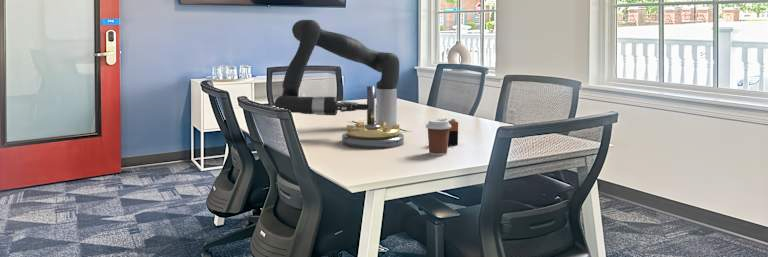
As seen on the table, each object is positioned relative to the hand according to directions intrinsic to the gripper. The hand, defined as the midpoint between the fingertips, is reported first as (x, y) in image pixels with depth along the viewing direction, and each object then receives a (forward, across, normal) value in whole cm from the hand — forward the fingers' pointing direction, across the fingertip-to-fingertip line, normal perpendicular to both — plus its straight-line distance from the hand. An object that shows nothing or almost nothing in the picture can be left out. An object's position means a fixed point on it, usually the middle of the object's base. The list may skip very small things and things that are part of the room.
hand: (367, 107), depth 257 cm
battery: (+33, -8, +13) cm, 36 cm away
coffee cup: (+30, -26, +13) cm, 42 cm away
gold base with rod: (+4, -9, +10) cm, 13 cm away
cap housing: (+4, -9, +13) cm, 16 cm away
